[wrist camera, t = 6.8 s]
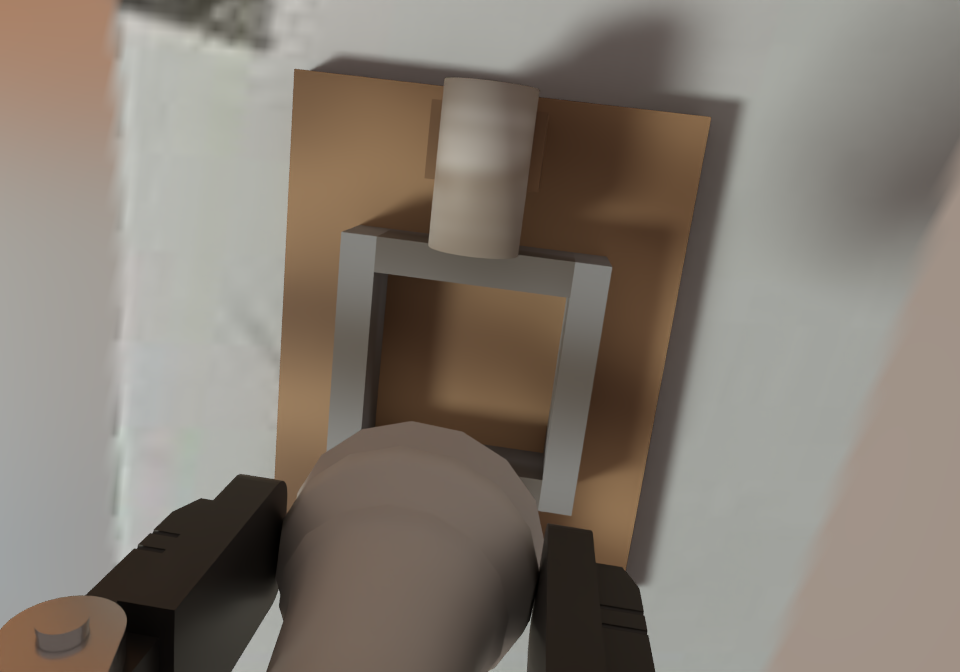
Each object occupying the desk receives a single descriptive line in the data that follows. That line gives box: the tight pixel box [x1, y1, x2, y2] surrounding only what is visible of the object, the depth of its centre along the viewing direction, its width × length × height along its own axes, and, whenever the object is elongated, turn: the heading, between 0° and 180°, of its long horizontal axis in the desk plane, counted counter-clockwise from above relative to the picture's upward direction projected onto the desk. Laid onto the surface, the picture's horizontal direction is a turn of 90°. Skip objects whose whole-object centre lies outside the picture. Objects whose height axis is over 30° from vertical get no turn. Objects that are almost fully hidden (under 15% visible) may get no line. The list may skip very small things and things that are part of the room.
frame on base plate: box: [275, 69, 711, 571], centre depth 22 cm, size 16×12×5 cm
